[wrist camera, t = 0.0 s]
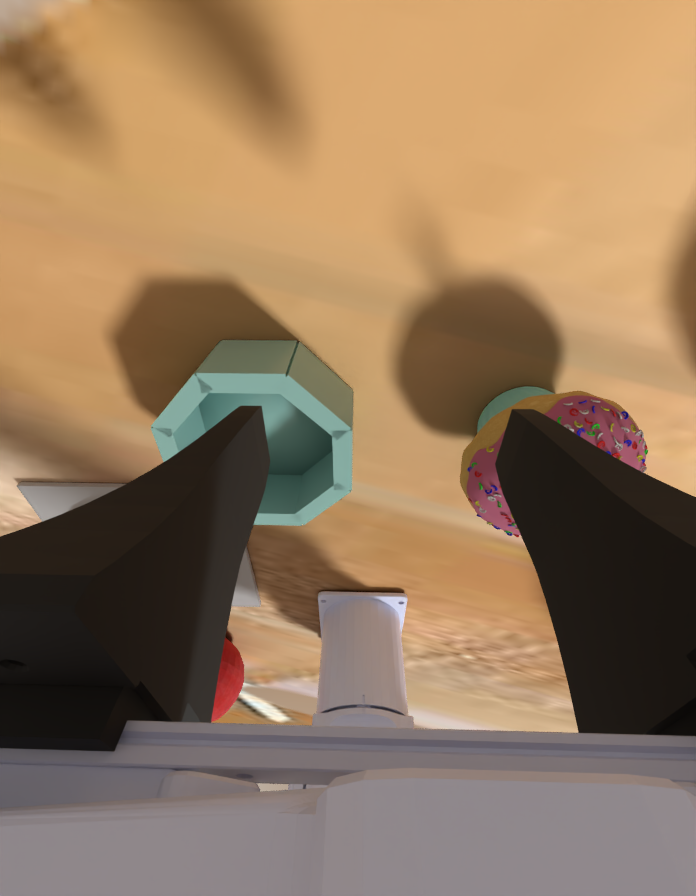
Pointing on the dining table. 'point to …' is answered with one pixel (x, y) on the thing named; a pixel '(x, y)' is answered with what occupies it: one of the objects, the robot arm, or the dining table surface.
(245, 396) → the bowl
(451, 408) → the dining table surface
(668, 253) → the dining table surface
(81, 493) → the mat
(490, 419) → the cupcake
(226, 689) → the tomato
